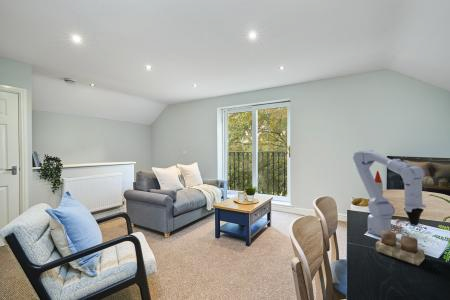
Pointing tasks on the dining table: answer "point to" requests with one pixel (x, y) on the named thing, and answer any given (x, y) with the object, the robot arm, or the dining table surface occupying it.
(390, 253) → the wooden toy block
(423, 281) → the dining table surface
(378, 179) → the toy rocket
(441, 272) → the dining table surface
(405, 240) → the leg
